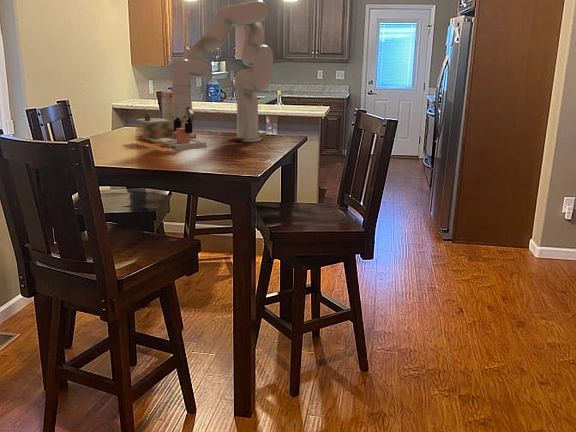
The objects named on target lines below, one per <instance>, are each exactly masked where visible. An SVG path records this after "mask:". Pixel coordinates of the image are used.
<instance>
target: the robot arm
mask: <svg viewBox="0 0 576 432" xmlns="http://www.w3.org/2000/svg"><path fill="white" fill-rule="evenodd" d="M268 7H269V6H268V5H267V3H265V2H264V1H263V0H248V1H243V2H240V3H237V4H226V5H223V6H220V8H219V9H218V10H217V11H216V13H215V14H214V17H213V18H212V20H211V22H210V24H209V26H208V27H207V29H206V31H205V32H204V34H203V35H202V36H201V37H200V38H198V39H197V41H196V42H195V43H194V44H193V45H192V46H191V47H190V48H189V50H188V51H187V53H186V54H185V56H184V58H174V59H172V60H171V84H172V86H171V87H172V88H171V89H172V90H171V91H173V94H172V110H171V111H172V117H173V121H174V131H176V128H181V121H180V119H184V120H185V122H186V123H185V133H193V122H194V116H195V113H194V111H193V104H192V103H193V102H192V101H193V100H192V96H191V94H192V85H191V84H192V82H191V81H192V80H191V79H192V78H205V77H207V76H208V75H209V73H210V72H211V65H210V63H209V62H208V61H207V60H205V58H206V57H207V56H208V55H209V54H210V53H212V52H213V51H215V50H217V49H219V48H221V47H222V46H223V44H224V42H225V41H226V39H227V38H228V36H229V34H230V32H231V31H232V29H233V27H241V26H243V29H244V39H243V40H244V41H243V46H242V52H241V62H242V63H243V65H244V66H247V67H251V68H252V69H250V68H249V69H248V68H247V69H246V68H245V69H241V70H239V71H238V72H237V73H236V74H235V77H234V87H235V94H236V136H234V138H236V139H240V140H237V142H239V143H257V142H261V141H262V137H261V136H266V135H267V131H265V130H262V131H261V130H259V99H258V95H257V93H263V92H265V91H266V90H267V89H268V87H269V86H270V85H269V84H270V81H271V75H272V70H273V63H274V53H273V51H272V49H271V48H270V46H268V45H267V44H264V42H265V41H264V40H265V30H264V26H263V24H262V22H263V21H265V19H267V17H268V15H269V8H268ZM187 119H188V120H187Z"/></svg>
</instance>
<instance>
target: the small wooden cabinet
mask: <svg viewBox="0 0 576 432" xmlns="http://www.w3.org/2000/svg"><path fill="white" fill-rule="evenodd" d="M187 120H188V119H187ZM180 121H181V128H185V123H186V122H185V120H184V118H181V119H180ZM141 129H142V139H145V140H149V141H151V142H155V143H158V142H161V141H164V140H176V139H177V132H176V131H174V121H173V119H172V120H171V123H154V124H148V123H144V122H141ZM190 139H195V140H196V139H200V137H198V136H197V133H195V132H192V133H190ZM143 143H145V141H143ZM149 144H151V145H152V143H150V142H149Z"/></svg>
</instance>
